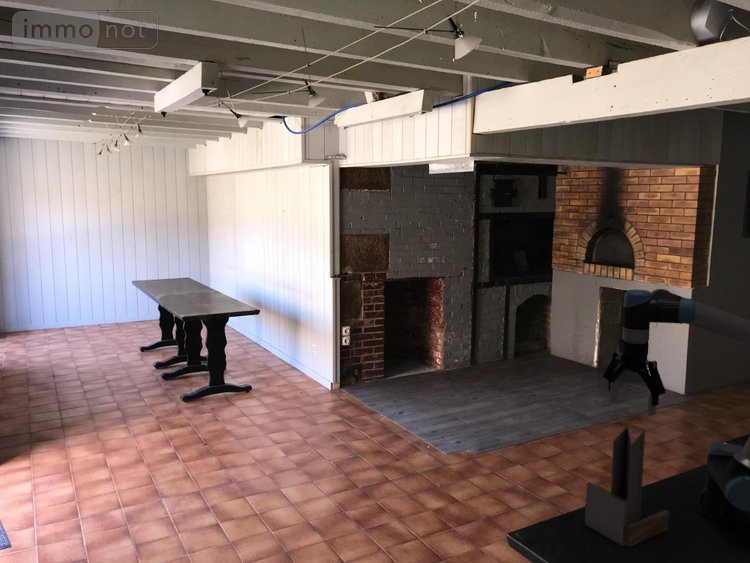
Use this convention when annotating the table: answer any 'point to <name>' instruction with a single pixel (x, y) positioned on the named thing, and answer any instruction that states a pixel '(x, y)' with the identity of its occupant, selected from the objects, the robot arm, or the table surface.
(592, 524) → the bookend
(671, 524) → the table surface
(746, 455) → the robot arm
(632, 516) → the brochure
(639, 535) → the slot rails
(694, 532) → the table surface
